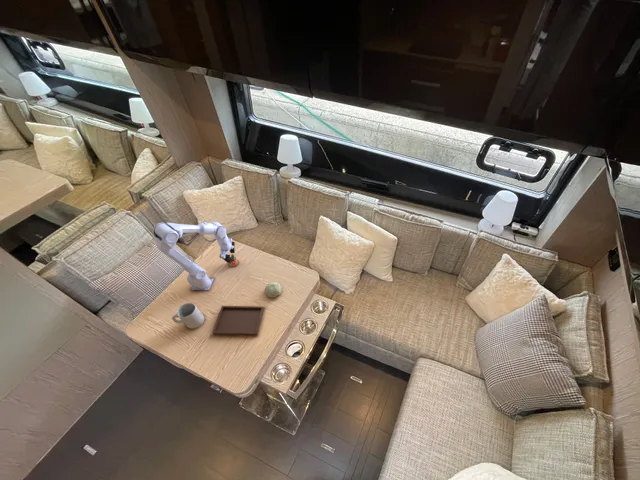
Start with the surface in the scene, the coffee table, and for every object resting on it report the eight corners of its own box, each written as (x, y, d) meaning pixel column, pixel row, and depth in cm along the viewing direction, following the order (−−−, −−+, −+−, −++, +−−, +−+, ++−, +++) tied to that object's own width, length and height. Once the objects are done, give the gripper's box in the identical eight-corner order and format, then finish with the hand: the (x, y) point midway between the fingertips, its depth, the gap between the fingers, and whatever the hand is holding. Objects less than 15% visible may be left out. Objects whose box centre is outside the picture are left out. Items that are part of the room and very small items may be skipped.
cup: (228, 266, 165) (226, 262, 162) (231, 260, 168) (228, 256, 165) (236, 266, 165) (234, 262, 162) (238, 260, 168) (236, 256, 165)
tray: (213, 334, 137) (212, 333, 135) (223, 307, 147) (221, 305, 145) (257, 335, 137) (256, 333, 136) (264, 308, 147) (263, 306, 146)
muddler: (231, 264, 166) (230, 255, 160) (232, 261, 167) (231, 253, 161) (234, 264, 166) (234, 256, 160) (235, 262, 167) (235, 253, 161)
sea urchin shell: (268, 300, 149) (262, 286, 147) (267, 298, 156) (262, 285, 155) (284, 293, 151) (279, 280, 150) (283, 292, 159) (278, 279, 158)
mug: (203, 311, 145) (195, 300, 136) (205, 325, 140) (196, 314, 131) (178, 319, 142) (168, 308, 133) (179, 333, 137) (168, 322, 128)
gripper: (226, 250, 148) (234, 267, 158) (234, 232, 157) (241, 248, 167) (213, 250, 147) (222, 266, 158) (221, 232, 157) (229, 248, 167)
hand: (231, 257), depth 163 cm, fingers open, 7 cm apart
